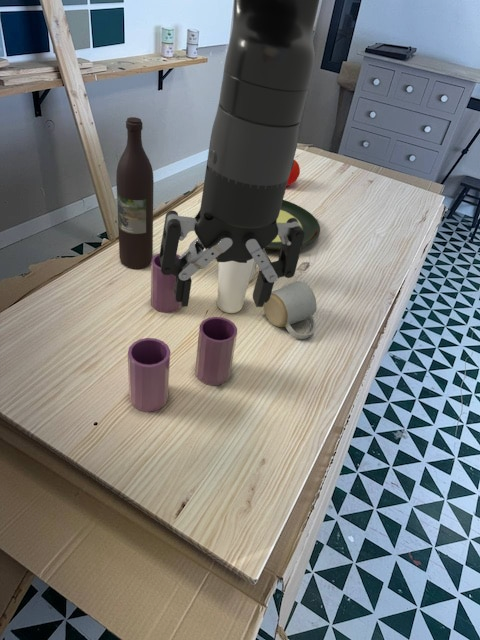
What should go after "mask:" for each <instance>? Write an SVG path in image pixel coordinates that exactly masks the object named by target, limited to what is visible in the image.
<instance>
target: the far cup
mask: <svg viewBox="0 0 480 640" xmlns="http://www.w3.org/2000/svg"><path fill="white" fill-rule="evenodd" d="M159 254H160V252H159V253H157V254H155V255H153V258H152V261H151V264H150V265H151V266H150V305H151V307H152V308H153V309H154V310H155V311H157V312H160V313H165V314H170V313H175V312H177V311H178V310H180V309H181V304H180V302H177V301H176V299H175V293H174V286H175V277H176V276H175V275H172V274H170V275H164V274H162V272H161V263H160V259H159ZM180 256H181V255H180V254H176V258H179V257H180Z"/></svg>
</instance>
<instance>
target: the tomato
mask: <svg viewBox="0 0 480 640" xmlns="http://www.w3.org/2000/svg"><path fill="white" fill-rule="evenodd" d="M300 174H301V168H300V165H299V163H298V161H296V159H294V165H293V168H292V170H291V172H290V175H289V179H288V183H287V186H290V185H293V184H294V183H295V182H296V181H297V180H298V178H299V177H300ZM287 186H286V187H287Z"/></svg>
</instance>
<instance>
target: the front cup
mask: <svg viewBox="0 0 480 640" xmlns="http://www.w3.org/2000/svg"><path fill="white" fill-rule="evenodd" d="M198 327H199V329H198V337H197V348H196V356H195V357H196V358H195V368H194V375H195V377H196V378H197V380H199V381H200V382H201V383H202V384H204V385H207V386H220V385H223V384H224V383H226V382H227V381H228V380H229V378H230V376H231V372H232V367H233V361H234V355H235V349H236V348H235V347H236V343H237V338H238V327H237V325H236V324H235V323H234V322H233V321H232V320H230V319H228V318H226V317H224V316H223V317H222V316H211V317H207V318H205V319H204V320H202V321H201V322H200V324H199V326H198Z"/></svg>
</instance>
